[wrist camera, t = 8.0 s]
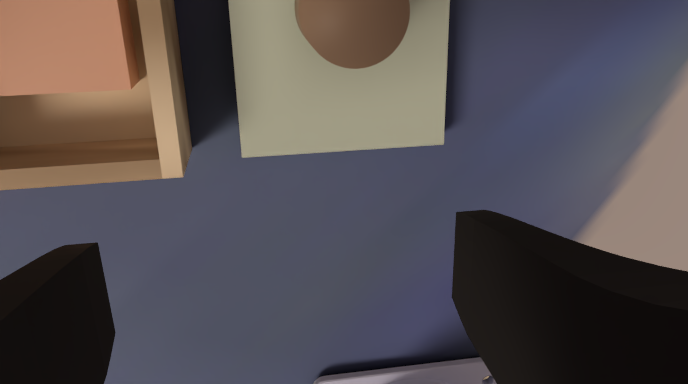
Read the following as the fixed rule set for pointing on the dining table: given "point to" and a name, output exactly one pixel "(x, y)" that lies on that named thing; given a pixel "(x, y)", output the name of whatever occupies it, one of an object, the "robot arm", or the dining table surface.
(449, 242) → the dining table surface
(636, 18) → the dining table surface
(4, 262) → the dining table surface
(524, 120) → the dining table surface
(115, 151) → the box
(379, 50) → the lid
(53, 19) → the block
